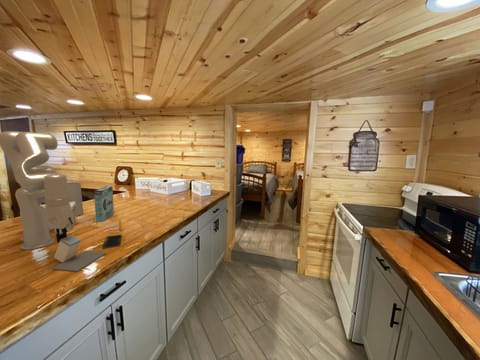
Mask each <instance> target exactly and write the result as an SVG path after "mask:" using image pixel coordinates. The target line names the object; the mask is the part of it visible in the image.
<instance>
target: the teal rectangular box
mask: <svg viewBox="0 0 480 360" xmlns="http://www.w3.org/2000/svg"><path fill="white" fill-rule="evenodd" d="M113 194H114V193H113V186H112V185H105V186H103V187H100V188H98V189H95V190H93V196H94V197H93V198H94V211H95V214H94V215H95V222H96V223H101V222H105V221H107V220H108V219H109V218H110V217H112V215H114V214H115V207H114V195H113Z"/></svg>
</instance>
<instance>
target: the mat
mask: <svg viewBox="0 0 480 360" xmlns="http://www.w3.org/2000/svg"><path fill="white" fill-rule="evenodd" d="M106 255H107V252H101V251H91V250H83V251H81V252H79V253H78V254H75V256H74V257H72V258H70V259H68V260H66V261H65V262H63V263H62V262H61V263H59V264H57V265H55V266H54V267H52V268H51V270H52V271H61V270H62V272H74V273H78V272H80V271H82V270H83V269H85V268H86V267H88V266H89V265H91V264H92V263H94V262H96V261H97V260H100V259H101V258H103V257H104V256H106Z"/></svg>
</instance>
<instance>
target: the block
mask: <svg viewBox="0 0 480 360" xmlns="http://www.w3.org/2000/svg"><path fill="white" fill-rule="evenodd" d="M80 243H81V239H80V238H78V237H76V236H75V235H73V234H70V235H67V237H65V238H63V239H61V240H60V243H58V246H57V248H56V252H55V254H54V256H53V257H54V258H53V259H56V260H57V261H59V262H61V263H63V262H65V261H66V260H68V259H70V258H72V257H74V256H76V255H77V254H76V253H77V252H78V251H77V250H78V249H79V245H80Z"/></svg>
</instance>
